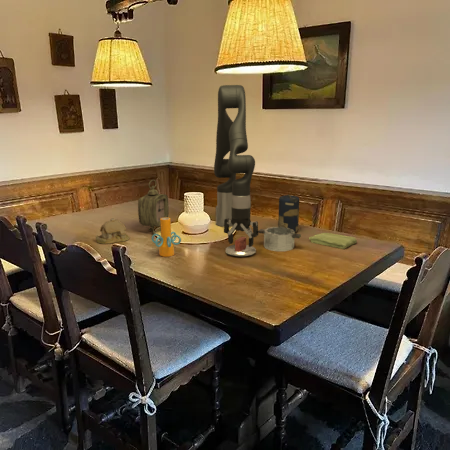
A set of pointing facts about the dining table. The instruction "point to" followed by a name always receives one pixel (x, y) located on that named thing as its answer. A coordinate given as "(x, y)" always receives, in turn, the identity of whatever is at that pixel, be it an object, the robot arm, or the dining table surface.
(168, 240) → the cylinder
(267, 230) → the pot
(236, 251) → the lid
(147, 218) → the tabletop clock
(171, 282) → the dining table surface
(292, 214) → the canister
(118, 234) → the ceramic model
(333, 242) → the washcloth
